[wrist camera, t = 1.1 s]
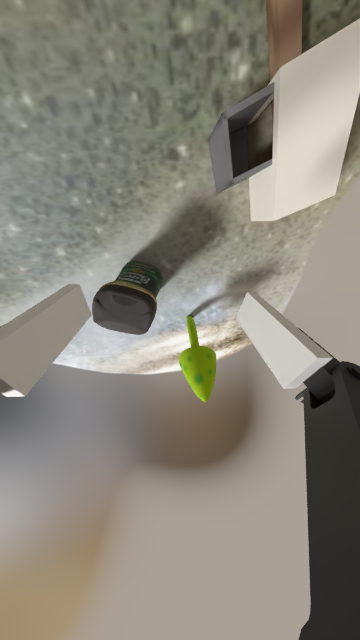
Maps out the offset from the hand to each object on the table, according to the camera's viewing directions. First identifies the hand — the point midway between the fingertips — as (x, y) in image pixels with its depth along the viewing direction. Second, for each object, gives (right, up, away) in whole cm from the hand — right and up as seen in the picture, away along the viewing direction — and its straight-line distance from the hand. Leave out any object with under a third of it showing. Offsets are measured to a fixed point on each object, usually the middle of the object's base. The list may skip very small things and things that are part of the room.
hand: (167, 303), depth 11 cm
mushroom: (+4, -1, +32) cm, 32 cm away
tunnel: (+15, +26, +13) cm, 32 cm away
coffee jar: (-9, +10, +23) cm, 27 cm away
